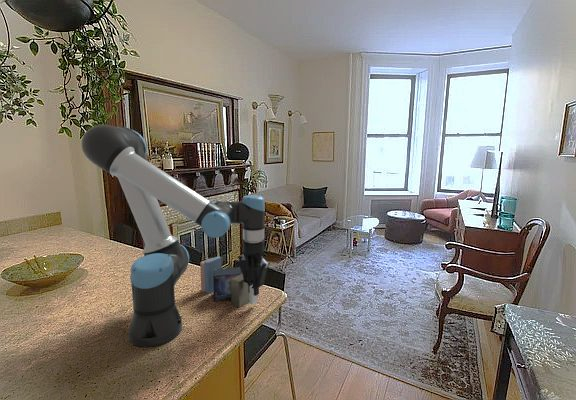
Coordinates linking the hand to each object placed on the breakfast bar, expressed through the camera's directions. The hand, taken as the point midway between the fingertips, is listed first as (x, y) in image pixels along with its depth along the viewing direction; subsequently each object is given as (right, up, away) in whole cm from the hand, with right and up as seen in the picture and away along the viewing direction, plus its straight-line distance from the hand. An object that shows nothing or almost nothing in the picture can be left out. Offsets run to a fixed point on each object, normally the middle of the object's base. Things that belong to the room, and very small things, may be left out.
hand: (253, 302), depth 107 cm
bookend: (-5, -1, +4) cm, 6 cm away
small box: (-11, -1, +8) cm, 14 cm away
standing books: (-19, +1, +13) cm, 23 cm away
